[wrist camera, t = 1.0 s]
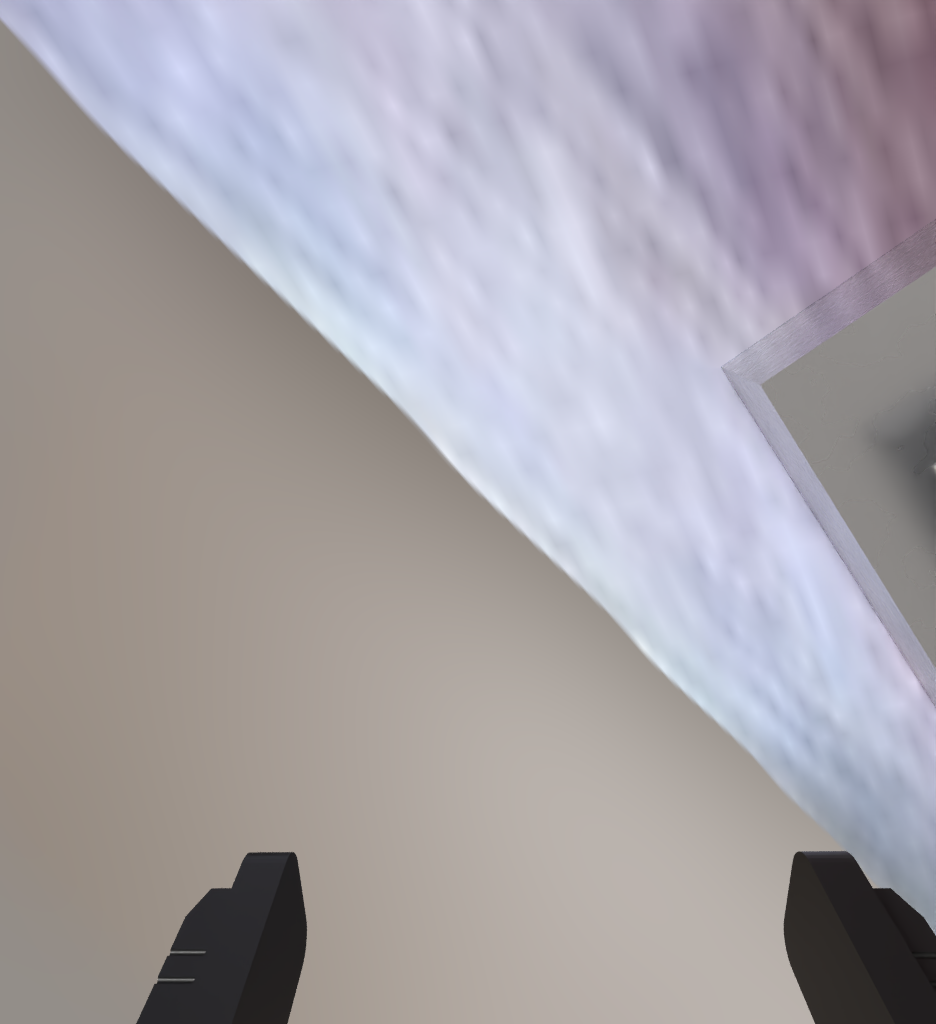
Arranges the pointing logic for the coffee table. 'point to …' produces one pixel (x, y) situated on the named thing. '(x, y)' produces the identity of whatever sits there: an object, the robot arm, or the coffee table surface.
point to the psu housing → (864, 431)
